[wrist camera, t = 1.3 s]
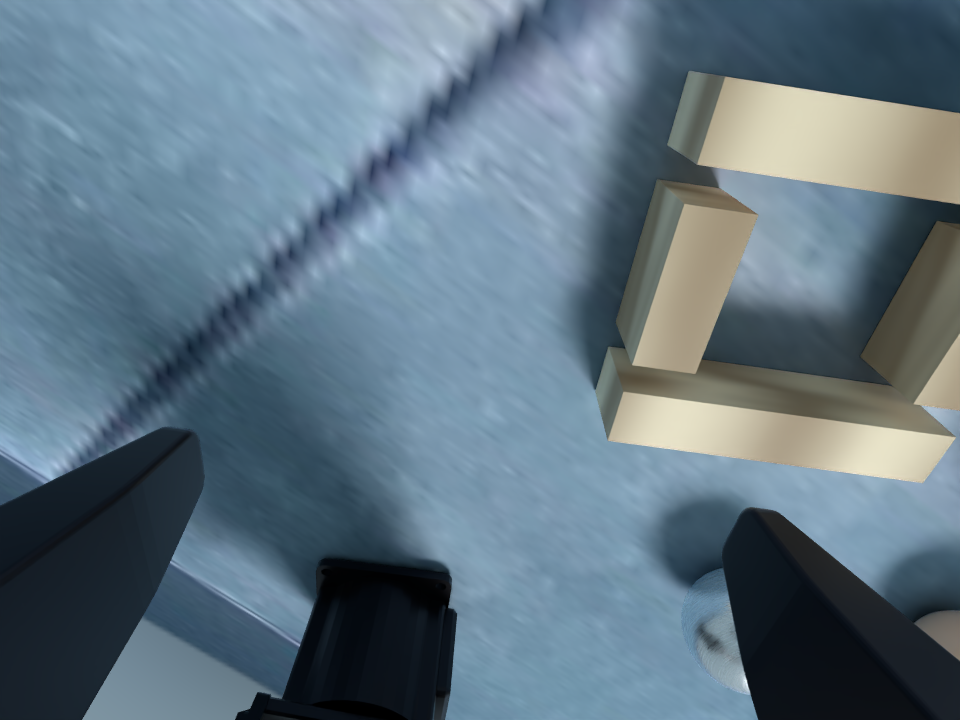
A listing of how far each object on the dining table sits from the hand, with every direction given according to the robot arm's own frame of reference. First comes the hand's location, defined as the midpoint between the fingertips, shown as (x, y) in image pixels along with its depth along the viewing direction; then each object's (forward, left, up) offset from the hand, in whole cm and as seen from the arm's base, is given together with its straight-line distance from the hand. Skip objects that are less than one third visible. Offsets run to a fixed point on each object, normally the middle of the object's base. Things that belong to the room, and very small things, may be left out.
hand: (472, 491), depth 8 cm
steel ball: (+13, -15, -10) cm, 22 cm away
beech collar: (+10, 0, -12) cm, 16 cm away
